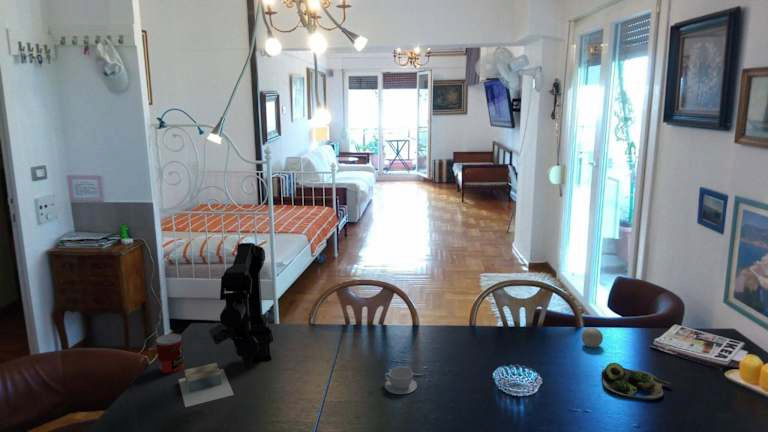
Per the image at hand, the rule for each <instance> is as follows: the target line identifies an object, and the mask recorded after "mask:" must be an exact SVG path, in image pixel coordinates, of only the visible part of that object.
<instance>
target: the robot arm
mask: <svg viewBox="0 0 768 432" xmlns="http://www.w3.org/2000/svg"><path fill="white" fill-rule="evenodd" d="M265 261H266V251H265V249H264V247H262V246H259V245H256V243H255V242H241V243H238V244H237V248H236V255H235V257H234V260H233V263H232V264H231V266H229V267H227V268H226V269H225V271H224V272H223V275H221V278H220V279H221V280H220V291H219V299H220V301H225V306H224V307H223V309H222V311H221V313H220V315H219V320H220V322H221V323H219V324H218V325H216V326H214V327H212V328H211V329H209V331H208V332H209V334H210V337H211V338H212V340H213V342H214V344H215V345H219V344H221V343H223V342H225V341H227V340H228V339H231V341H233V346H234V352H235V355H237V356H238V357H241V361H242V365H243V368H244V370H245V371H249V369H250V367H251V365H252V364H258V363H262V362H267V361H272V360H273V358H272V356H271V349H270V344H271V343H273V342H274V333H273V331H272V329H271V326H269V321H268V319H267V318H266V316H265V315H264V313H263V302H262V301H263V300H262V290H261V289H262V287H261V274H260V273H261V270H262V269H263V266H264V265H265V264H264V263H265Z"/></svg>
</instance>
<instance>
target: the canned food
mask: <svg viewBox="0 0 768 432" xmlns="http://www.w3.org/2000/svg"><path fill="white" fill-rule="evenodd" d="M155 344H156V352H157V353H156V354H157V358H158V359H157V360H158V366H159V367H158V368H159V371H160V372H161V373H162V374H167V375H168V374H169V375H170V374H175V373H178V372H180V371H182V370H183V369H184V368H185V360H184V358H185V357H184V349H183V341H182V336H181V334H179V333H168V334H162V335H161V336H159V337H157V338H156V340H155Z"/></svg>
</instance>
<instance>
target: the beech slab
mask: <svg viewBox="0 0 768 432" xmlns="http://www.w3.org/2000/svg"><path fill="white" fill-rule="evenodd" d="M184 378H185V380H186V384H187V387H188V391H189V392H190V391H194V390H199V389H203V388H207V387H211V386H215V385H219V384H222V377H221V372H220V367H219V365H218V363H217V362H214V363H209V364H206V365H201V366H200V365H199V366H197V367H191V368H187V369H184Z"/></svg>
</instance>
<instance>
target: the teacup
mask: <svg viewBox="0 0 768 432" xmlns="http://www.w3.org/2000/svg"><path fill="white" fill-rule="evenodd" d="M413 375H414V372H413V371H412V369H410V368H409V367H408V368H407V367H400V366H398V367H394V368H392V369H390V370H389V372H386V373H385V374H384V378H385V380H386V382H385V384H384V389H385V391H387V392H389V393H391V394H396V395H406V394H410V393H412V392H414V391H416V389H417V387H418V383H417V382H416V381H415V379H413Z"/></svg>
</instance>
